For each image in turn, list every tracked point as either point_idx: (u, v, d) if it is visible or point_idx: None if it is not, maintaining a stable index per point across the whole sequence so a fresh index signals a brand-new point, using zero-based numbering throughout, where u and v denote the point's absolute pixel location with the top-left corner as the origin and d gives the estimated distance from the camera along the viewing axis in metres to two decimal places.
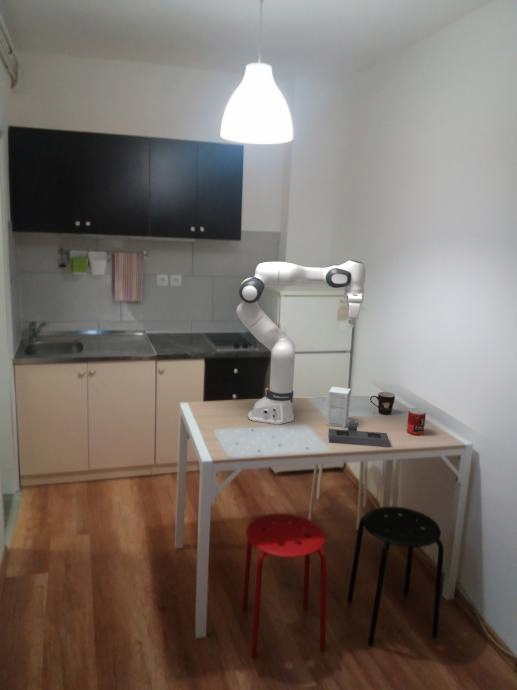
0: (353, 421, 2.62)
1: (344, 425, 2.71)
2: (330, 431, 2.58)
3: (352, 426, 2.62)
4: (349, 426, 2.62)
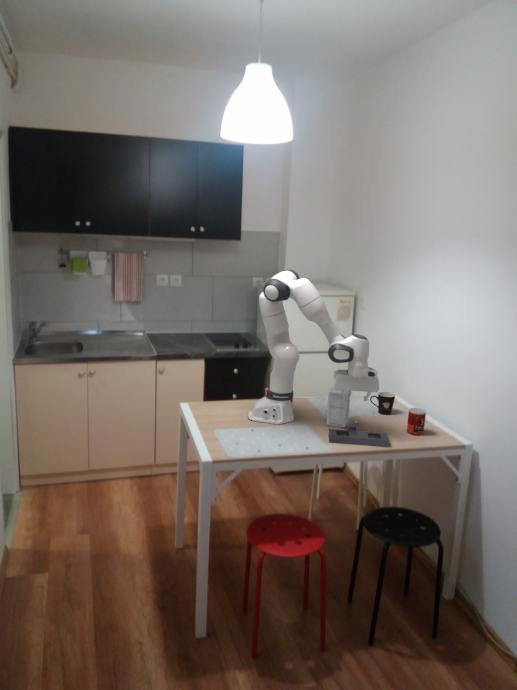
0: (353, 421, 2.62)
1: (344, 425, 2.71)
2: (330, 431, 2.58)
3: (352, 426, 2.62)
4: (349, 426, 2.62)
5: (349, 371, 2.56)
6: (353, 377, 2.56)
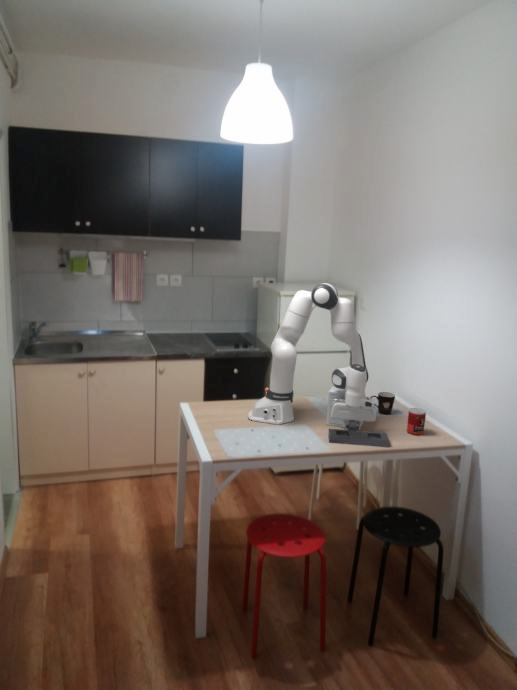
0: (353, 421, 2.62)
1: (344, 425, 2.71)
2: (330, 431, 2.58)
3: (352, 426, 2.62)
4: (349, 426, 2.62)
5: (346, 401, 2.60)
6: (350, 407, 2.60)
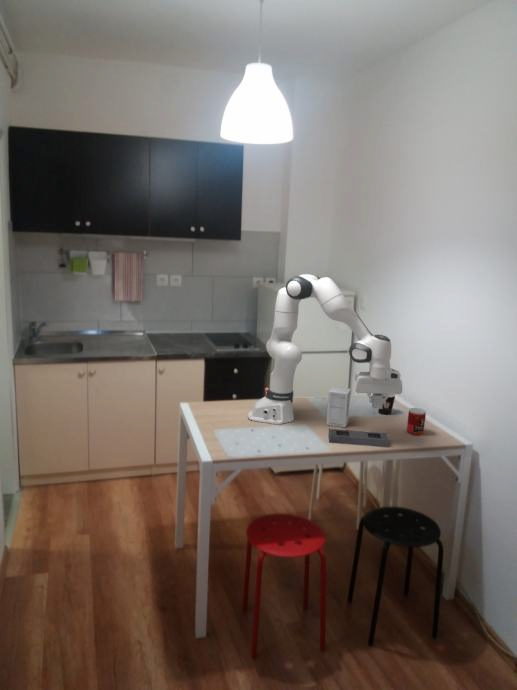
0: (378, 394, 2.50)
1: (344, 425, 2.71)
2: (330, 431, 2.58)
3: (378, 399, 2.50)
4: (374, 400, 2.50)
5: (371, 373, 2.47)
6: (375, 379, 2.47)
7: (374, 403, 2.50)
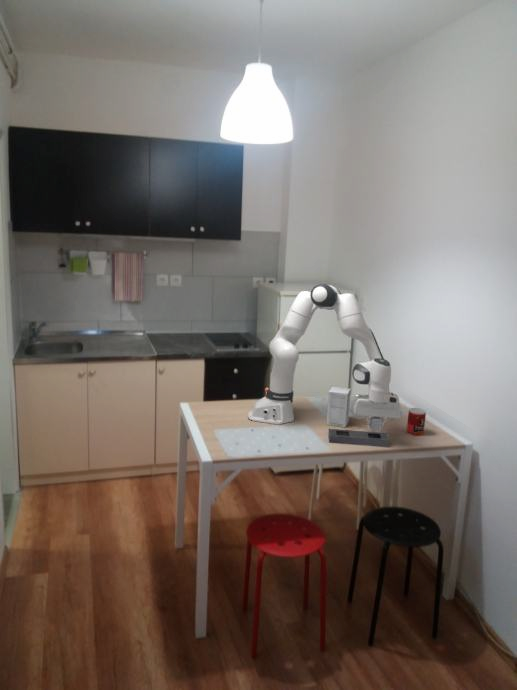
0: (377, 417, 2.52)
1: (344, 425, 2.71)
2: (330, 431, 2.58)
3: (376, 422, 2.52)
4: (372, 423, 2.52)
5: (370, 396, 2.49)
6: (374, 403, 2.49)
7: (372, 426, 2.52)
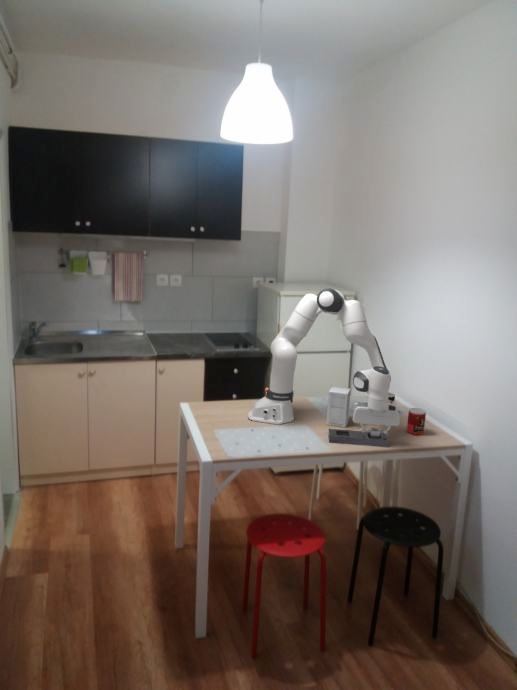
0: (375, 430, 2.53)
1: (344, 425, 2.71)
2: (330, 431, 2.58)
3: (374, 434, 2.53)
4: (371, 435, 2.53)
5: (369, 404, 2.50)
6: (373, 411, 2.50)
7: None
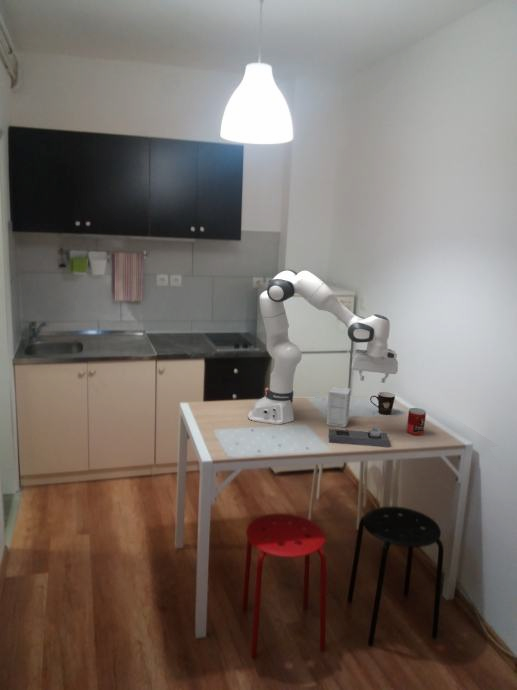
0: (375, 430, 2.53)
1: (344, 425, 2.71)
2: (330, 431, 2.58)
3: (374, 434, 2.53)
4: (371, 435, 2.53)
5: (368, 351, 2.53)
6: (372, 358, 2.53)
7: None
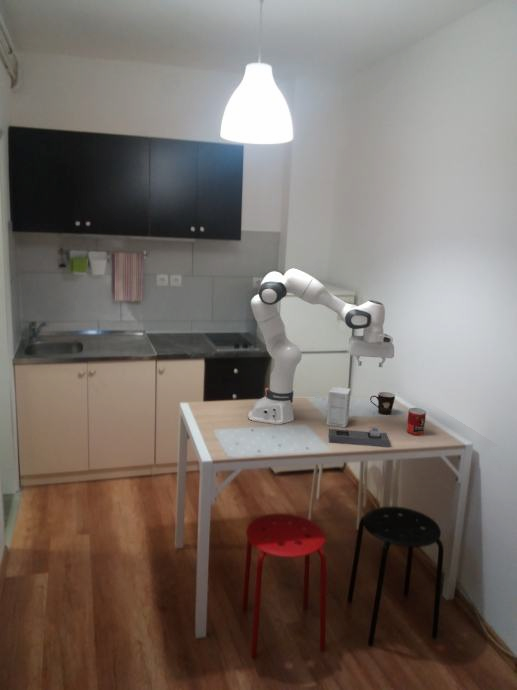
0: (375, 430, 2.53)
1: (344, 425, 2.71)
2: (330, 431, 2.58)
3: (374, 434, 2.53)
4: (371, 435, 2.53)
5: (364, 337, 2.58)
6: (368, 343, 2.58)
7: None
